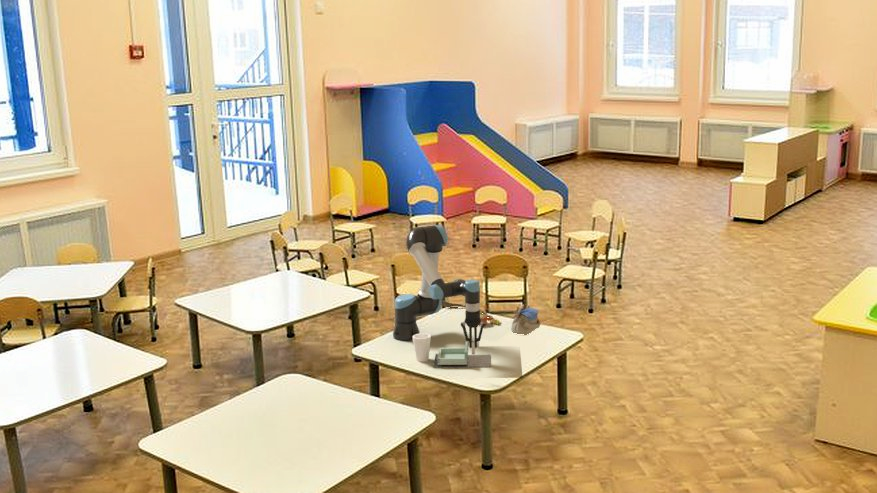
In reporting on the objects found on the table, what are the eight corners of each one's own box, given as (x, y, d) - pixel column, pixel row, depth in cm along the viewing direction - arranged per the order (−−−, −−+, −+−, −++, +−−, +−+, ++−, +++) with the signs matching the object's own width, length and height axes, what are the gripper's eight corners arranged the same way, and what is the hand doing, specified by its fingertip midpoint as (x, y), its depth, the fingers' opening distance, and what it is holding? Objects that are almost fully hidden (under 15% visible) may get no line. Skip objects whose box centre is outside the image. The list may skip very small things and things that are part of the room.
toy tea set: (503, 327, 507) (503, 311, 505) (479, 331, 501) (479, 315, 499) (484, 316, 530) (484, 301, 528) (461, 319, 525) (461, 304, 523)
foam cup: (432, 356, 460) (431, 333, 457) (430, 362, 451) (429, 338, 448) (414, 356, 461) (413, 333, 458) (412, 362, 451) (411, 338, 449)
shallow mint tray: (439, 354, 460) (439, 341, 459) (468, 354, 459) (467, 341, 458) (437, 366, 443) (437, 352, 442) (467, 365, 442) (466, 352, 441)
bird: (470, 312, 538) (469, 297, 536) (466, 316, 531) (466, 300, 529) (442, 310, 544) (442, 295, 542) (438, 314, 537) (438, 298, 535)
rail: (435, 355, 461) (435, 353, 460) (490, 355, 459) (490, 353, 458) (433, 367, 443) (433, 365, 443) (490, 367, 441) (490, 364, 441)
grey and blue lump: (523, 322, 515) (522, 296, 512) (549, 325, 508) (548, 299, 504) (505, 334, 493) (505, 307, 490) (532, 338, 485) (531, 310, 482)
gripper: (459, 312, 442) (460, 356, 447) (485, 312, 441) (485, 356, 446) (460, 308, 449) (461, 351, 454) (485, 307, 448) (486, 351, 453)
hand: (473, 353), depth 450 cm, fingers closed
